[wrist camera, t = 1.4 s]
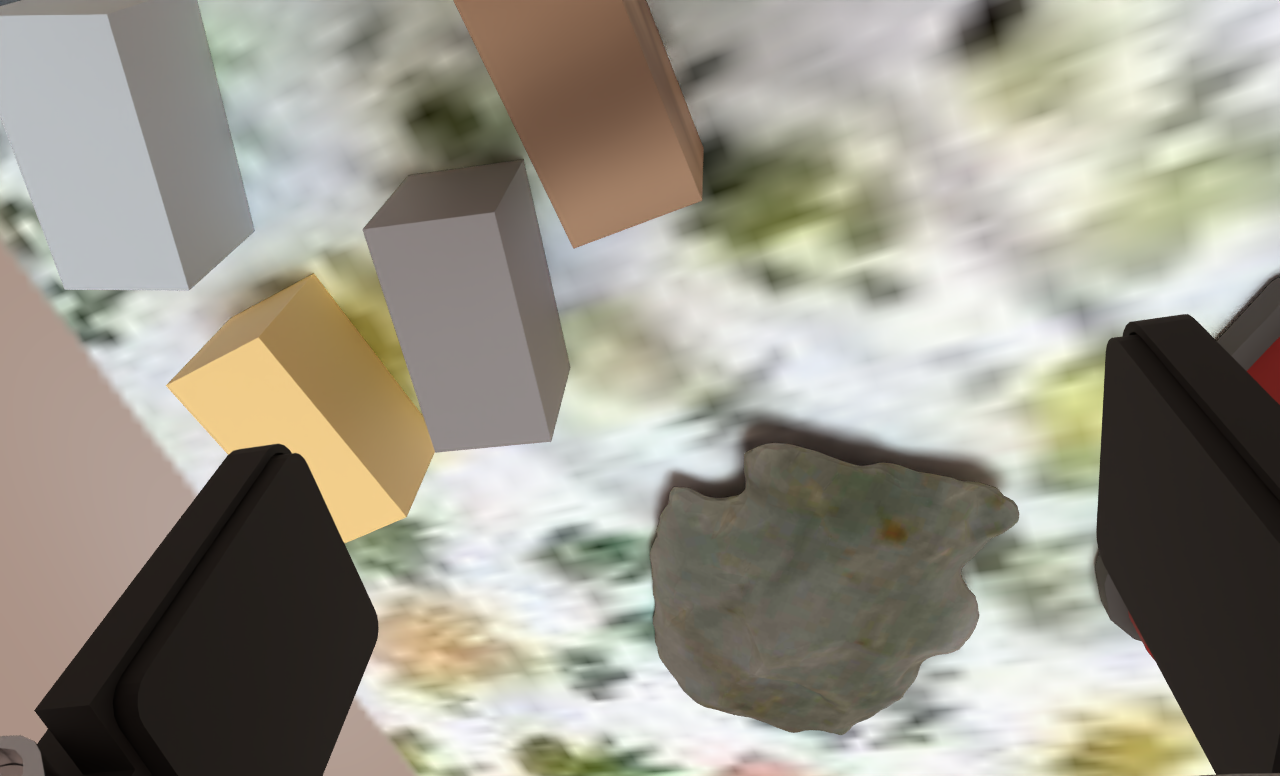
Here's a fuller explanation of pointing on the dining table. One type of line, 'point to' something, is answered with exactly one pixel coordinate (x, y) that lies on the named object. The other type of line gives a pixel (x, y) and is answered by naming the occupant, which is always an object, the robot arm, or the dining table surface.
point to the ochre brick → (312, 404)
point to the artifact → (817, 585)
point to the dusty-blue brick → (122, 140)
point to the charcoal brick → (473, 305)
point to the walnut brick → (592, 108)
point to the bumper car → (1273, 355)
